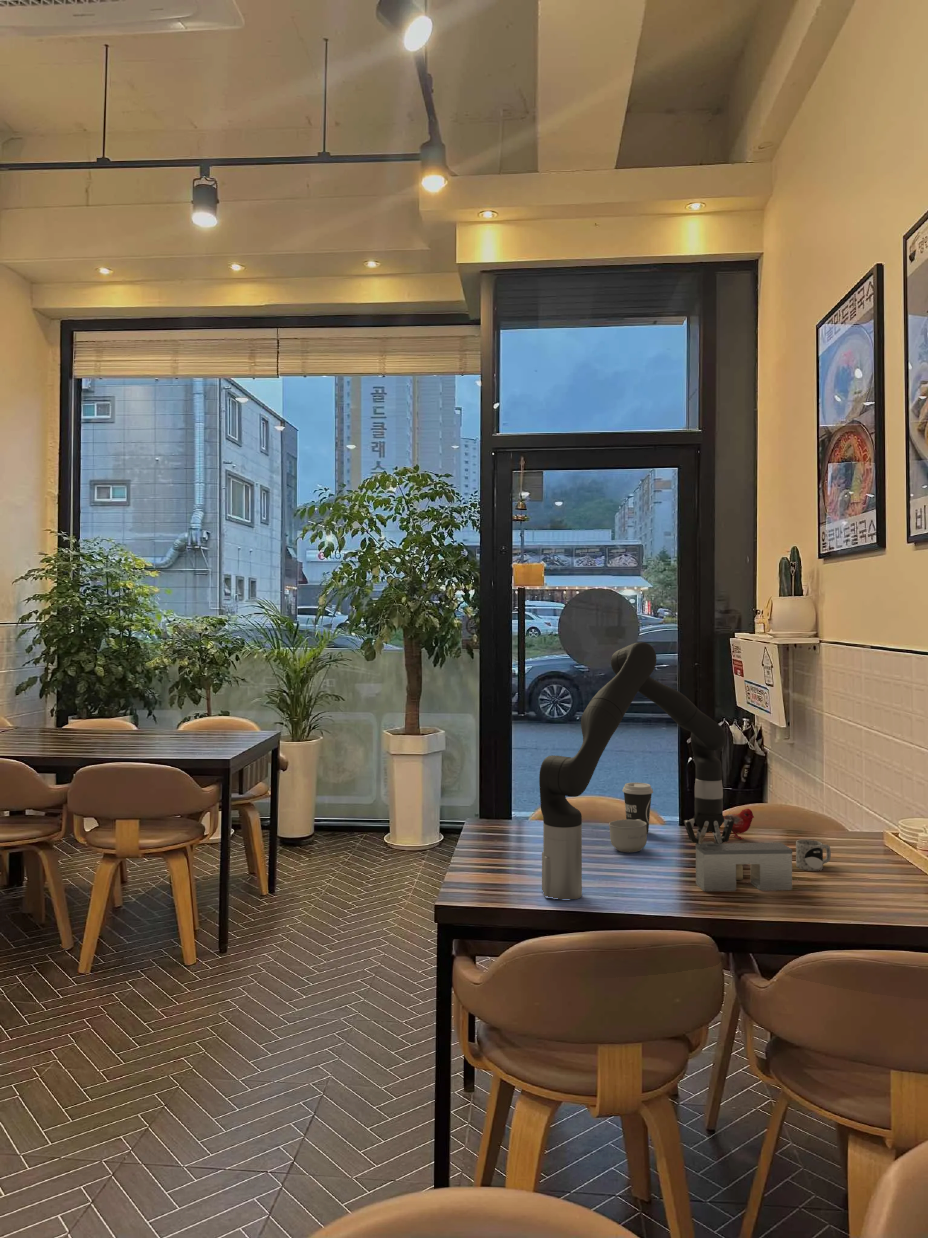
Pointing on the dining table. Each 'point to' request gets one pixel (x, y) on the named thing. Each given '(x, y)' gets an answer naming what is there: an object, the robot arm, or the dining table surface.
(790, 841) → the dining table surface
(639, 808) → the coffee cup
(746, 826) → the decorative bird figurine
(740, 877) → the bar
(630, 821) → the teacup
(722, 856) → the block
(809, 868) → the mug
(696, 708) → the robot arm
